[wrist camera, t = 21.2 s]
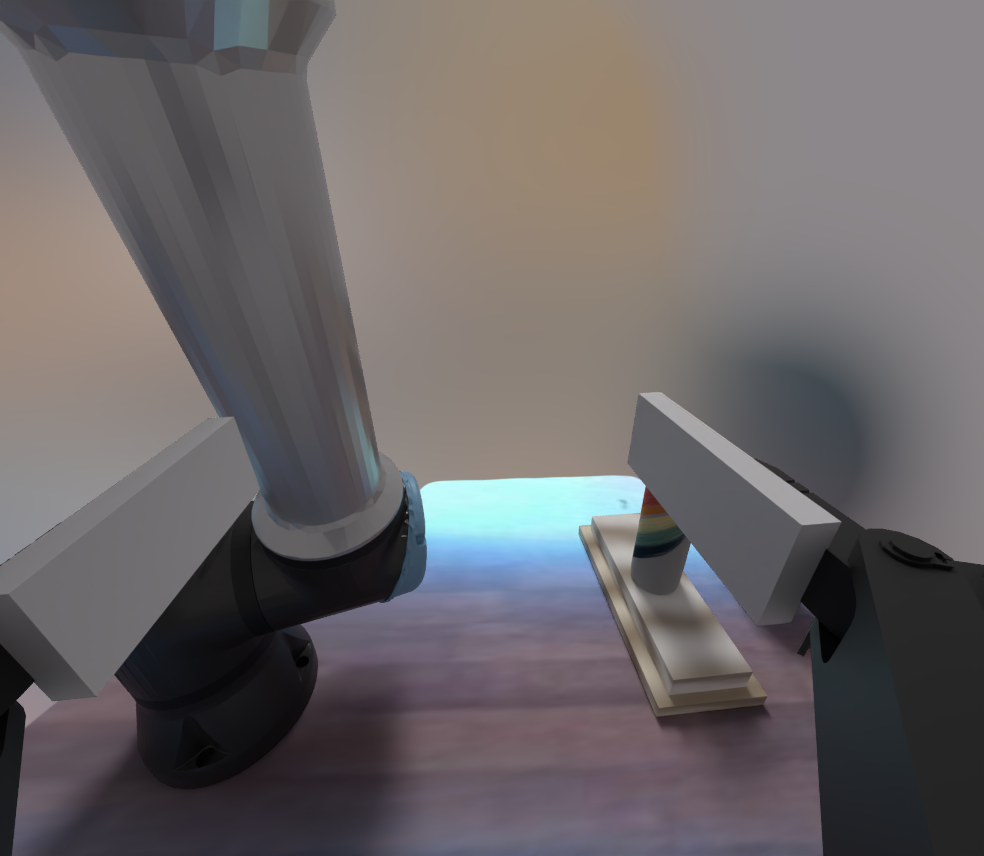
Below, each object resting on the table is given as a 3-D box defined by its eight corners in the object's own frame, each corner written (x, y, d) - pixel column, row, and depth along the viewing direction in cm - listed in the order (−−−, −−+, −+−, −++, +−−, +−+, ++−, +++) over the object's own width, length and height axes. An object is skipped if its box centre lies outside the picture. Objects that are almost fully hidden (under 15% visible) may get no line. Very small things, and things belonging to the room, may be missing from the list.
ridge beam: (763, 704, 37) (775, 680, 35) (656, 716, 36) (663, 692, 35) (645, 527, 60) (649, 508, 59) (578, 533, 60) (580, 513, 58)
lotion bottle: (642, 553, 50) (670, 418, 41) (686, 576, 47) (726, 434, 38) (621, 577, 47) (646, 435, 38) (666, 605, 43) (706, 455, 34)
